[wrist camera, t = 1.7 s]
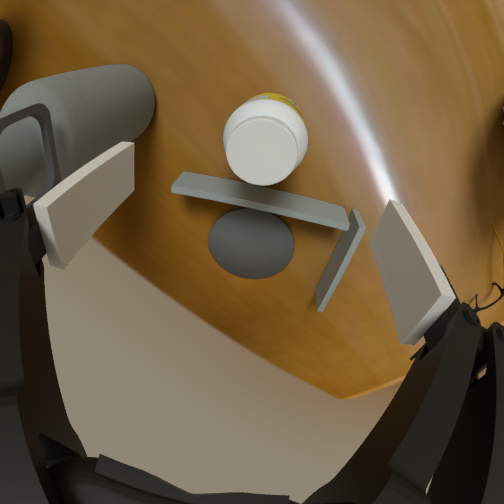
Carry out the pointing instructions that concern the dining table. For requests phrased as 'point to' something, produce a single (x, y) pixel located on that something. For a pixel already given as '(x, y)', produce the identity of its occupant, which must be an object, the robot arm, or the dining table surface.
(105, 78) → the water bottle
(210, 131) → the dining table surface
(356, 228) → the fence end
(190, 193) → the fence long
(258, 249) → the coaster
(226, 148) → the pill bottle
